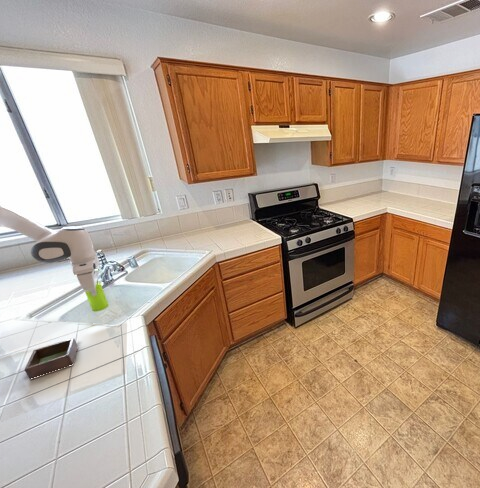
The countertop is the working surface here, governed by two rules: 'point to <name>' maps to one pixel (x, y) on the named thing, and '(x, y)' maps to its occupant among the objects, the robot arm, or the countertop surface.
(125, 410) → the countertop surface
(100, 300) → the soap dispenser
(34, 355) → the tray
